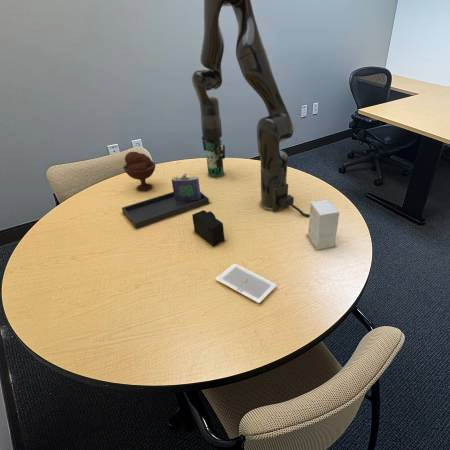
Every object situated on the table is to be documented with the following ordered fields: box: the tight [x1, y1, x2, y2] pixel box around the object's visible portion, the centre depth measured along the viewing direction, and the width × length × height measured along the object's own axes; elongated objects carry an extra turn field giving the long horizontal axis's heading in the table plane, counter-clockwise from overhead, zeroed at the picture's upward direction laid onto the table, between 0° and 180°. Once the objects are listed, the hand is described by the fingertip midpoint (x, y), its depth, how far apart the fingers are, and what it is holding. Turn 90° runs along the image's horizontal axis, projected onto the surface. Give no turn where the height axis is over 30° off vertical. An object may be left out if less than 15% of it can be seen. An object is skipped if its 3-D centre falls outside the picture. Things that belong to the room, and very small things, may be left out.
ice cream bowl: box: [122, 151, 156, 192], centre depth 126 cm, size 11×11×15 cm
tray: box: [121, 191, 210, 230], centre depth 119 cm, size 12×26×2 cm, turn 133°
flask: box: [171, 173, 201, 203], centre depth 120 cm, size 9×3×11 cm, turn 105°
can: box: [205, 138, 225, 179], centre depth 139 cm, size 6×6×15 cm
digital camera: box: [191, 209, 225, 247], centre depth 105 cm, size 10×5×7 cm, turn 47°
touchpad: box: [214, 262, 278, 304], centre depth 90 cm, size 8×15×2 cm, turn 58°
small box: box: [307, 199, 340, 251], centre depth 105 cm, size 8×6×13 cm
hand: (215, 164), depth 140 cm, fingers closed on can, 6 cm apart
